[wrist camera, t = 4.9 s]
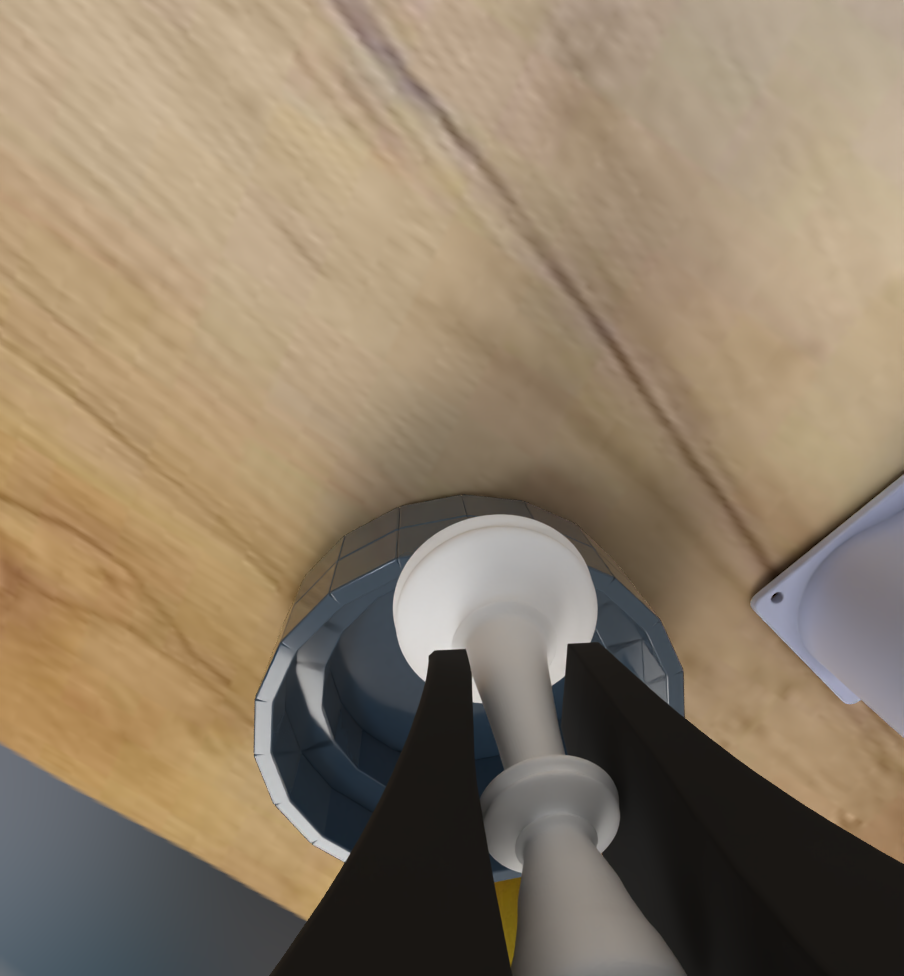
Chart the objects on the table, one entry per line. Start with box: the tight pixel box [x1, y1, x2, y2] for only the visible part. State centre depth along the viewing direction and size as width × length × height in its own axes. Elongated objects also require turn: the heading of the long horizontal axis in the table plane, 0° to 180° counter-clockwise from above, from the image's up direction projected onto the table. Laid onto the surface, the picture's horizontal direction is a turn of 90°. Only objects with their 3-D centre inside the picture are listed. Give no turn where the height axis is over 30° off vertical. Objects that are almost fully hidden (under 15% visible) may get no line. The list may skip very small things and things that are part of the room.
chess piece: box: [393, 514, 687, 976], centre depth 8 cm, size 5×5×10 cm
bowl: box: [254, 494, 685, 883], centre depth 20 cm, size 14×14×5 cm
